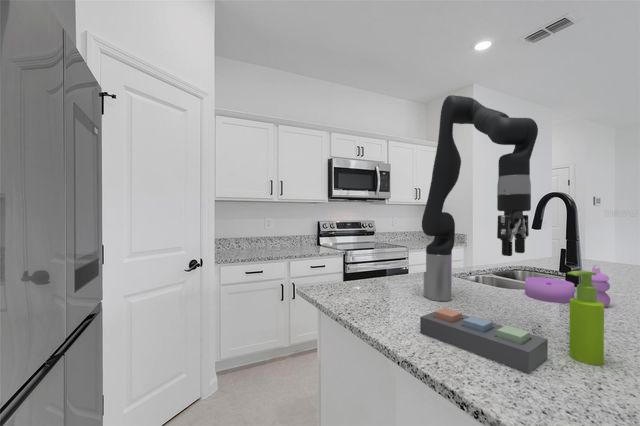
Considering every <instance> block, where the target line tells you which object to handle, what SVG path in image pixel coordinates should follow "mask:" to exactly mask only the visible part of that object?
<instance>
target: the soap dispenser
mask: <svg viewBox="0 0 640 426" xmlns="http://www.w3.org/2000/svg"><path fill="white" fill-rule="evenodd" d="M566 274H567V275H569V276H573V277H579V276H581V283H580V284H577V285H576V297H574V298H571V299H570V303H569V334H568V335H569V338H568V341H569V343H568V344H569V345H568V346H569V347H568V349H569V350H568V351H569V352H568V353H569V357H570V358H571V357H572V360H575V361H578V362H580V363H582V364H586V365H592V366H603V365H604V364H605V362H604V359H605V307H604V304H603V303H601V302H599V301H597V288H596V287H595V286H593V285H592V275H596V273H594V272H592V271H590V270H572V271H568V272H566Z"/></svg>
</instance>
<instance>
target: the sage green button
mask: <svg viewBox="0 0 640 426" xmlns="http://www.w3.org/2000/svg"><path fill="white" fill-rule="evenodd" d="M503 326H504V327H502V328H500V329H498V330H497V337H498V338H501V339H504V340H507V341H511V342H514V343H517V344H520V345H524V344H525V343H527V342H528V341H530V334H531V332H530V331H528V330H524V329H522V328H517V327H513V326H511V325H503Z"/></svg>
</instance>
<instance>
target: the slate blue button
mask: <svg viewBox="0 0 640 426" xmlns="http://www.w3.org/2000/svg"><path fill="white" fill-rule="evenodd" d="M493 323H494V321H492V320H489V319H485V318H481V317H478V316H475V315H472V316H469V318H467V319H464V320H463V327H466V328H469V329H473V330H476V331H479V332H482V333H486V332H488V331H490V330H492V329H493Z"/></svg>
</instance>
